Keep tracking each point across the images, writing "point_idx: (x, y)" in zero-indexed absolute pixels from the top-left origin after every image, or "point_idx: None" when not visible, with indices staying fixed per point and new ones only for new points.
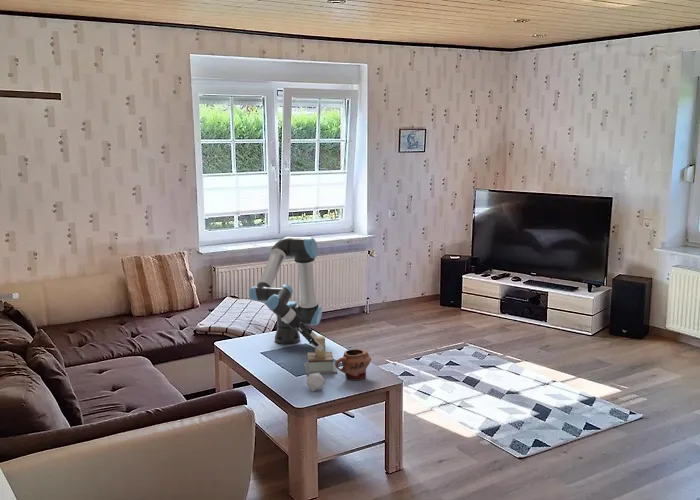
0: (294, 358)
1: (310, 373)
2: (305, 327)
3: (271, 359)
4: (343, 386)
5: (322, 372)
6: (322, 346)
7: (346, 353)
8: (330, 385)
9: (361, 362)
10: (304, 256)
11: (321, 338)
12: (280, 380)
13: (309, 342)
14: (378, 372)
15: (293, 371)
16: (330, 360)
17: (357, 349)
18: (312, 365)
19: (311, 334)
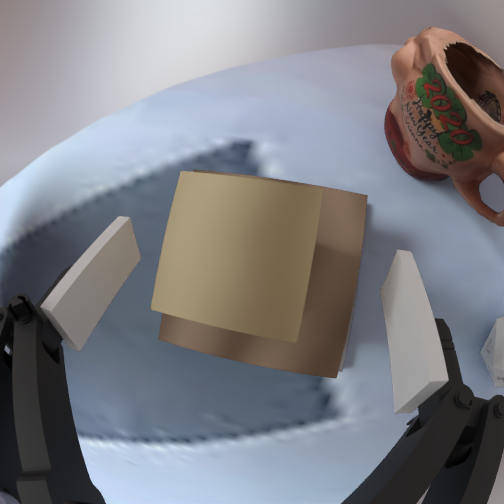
0: (92, 354)
1: (345, 349)
2: (59, 485)
3: (93, 436)
4: (494, 225)
5: (357, 282)
6: (417, 267)
7: (446, 109)
8: (482, 275)
9: (497, 99)
10: None
11: (286, 237)
12: (356, 474)
13: (469, 442)
14: (369, 59)
15: (262, 416)
16: (364, 217)
17: (443, 45)
18: None
19: (73, 324)
